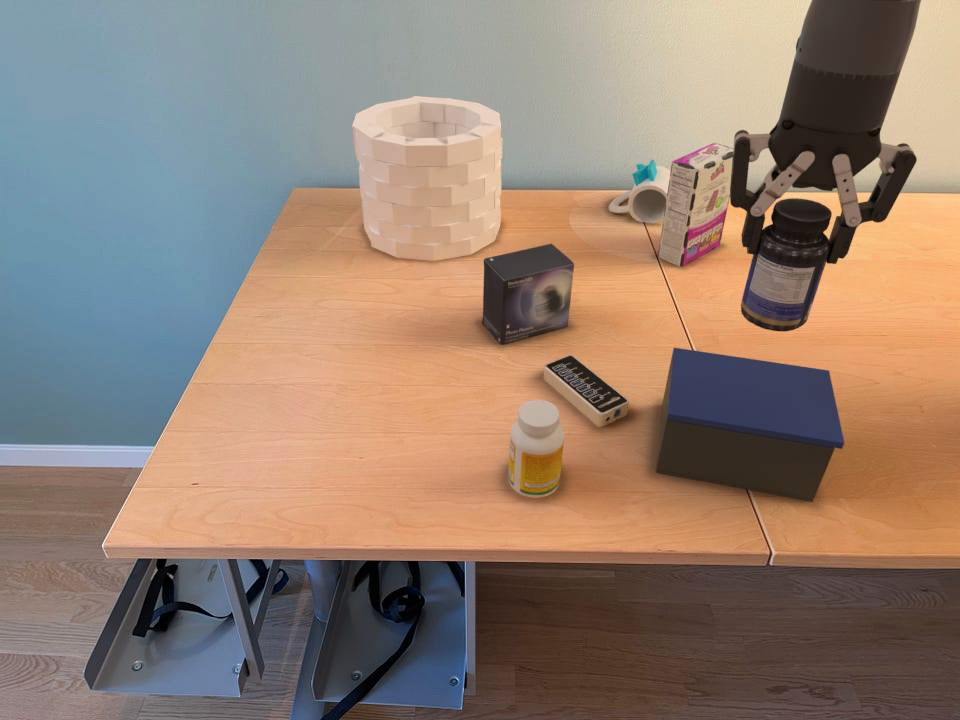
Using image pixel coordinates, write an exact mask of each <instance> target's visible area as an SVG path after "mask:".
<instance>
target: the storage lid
mask: <svg viewBox="0 0 960 720" xmlns="http://www.w3.org/2000/svg"><path fill="white" fill-rule="evenodd" d="M671 358H672V365H671V377H670V389H669V400H668V412H667V420H673V421H679V422H685V423H691V424H697V425H703V426H708V427H714V428H720V429H726V430H732V431H738V432H744V433H750V434H756V435H762V436H768V437H773V438H779V439H785V440H791V441H797V442H803V443H809V444H815V445H821V446H827V447H833V448H835V449H840V450H843V448H844V445H845V439H844V435H843V429H842V425H841V421H840V415H839V411H838V406H837V401H836V397H835V392H834V388H833V387H834V386H833V383H832V378H831V373H830V370H829V369H822V368H815V367H808V366H801V365H794V364H788V363H781V362H775V361H767V360H761V359H755V358H747V357H740V356H734V355H727V354H719V353H713V352H707V351H700V350H692V349H686V348H681V347H680V348H679V347H673V350H672V354H671Z"/></svg>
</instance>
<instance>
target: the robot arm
mask: <svg viewBox="0 0 960 720" xmlns="http://www.w3.org/2000/svg"><path fill="white" fill-rule="evenodd" d="M921 3H922V0H811V2H810V4H809V6H808V9H807V11H806V14H805V17H804V20H803V24H802V26H801V30H800V34H799V37H798V38H797V39H796V40H797V41H796V44H795V54H794V58H793V62H792V67H791V70H790V74H789V79H788V82H787V85H786V90H785V95H784V98H783V102H782V105H781V110H780V115H779V118H778V120H777V122H776V124H775V126H774V127H773V128H772V129H771V130H770V131H769V133H752V134H750V133H749V132H748V130H745V129H740V130H737V132H736V133H735V134H734V136H733V137H734V138H733V147H732V148H733V160H732V172H731V184H730V198H729V202H730V205H731V206H732V207H733V208H736V209H738V208H740V209H742V210H744V211H745V212H746V215H745V219H744V223H743V227H742V231H741V236H740V237H741V244H742V248H746V253H747V255H753V254H756V252H757V248H758V244H759V241H760V237H761V233H762V230H763V229H764V225H765V221H766V212H767V211H768V210H769V208H770V207H772V205H773V204H774V203H776V201H777V200H779V199H780V198H782V197H783V196H784V195H785V193H786V192H787V191H788V190H789V189H790V188H791V187H792V188H795V189H806V188H807V189H808V188H815V189H818V190H820V191H826V192H833V190H834V189H836V193H837V196H838V201H839V206H840V209H841V213H840V215H836V217H835V219H834V222H833V225H832V229H831V232H830V235H829V238H828V239H829V242H830V252H829V255H828V258H827V261H826V264H831V265H837V263H838V260H839V259H845V257H847V255H848V254H849V251H850V247H851V246H852V245H851V244H852V242H853V238H854V236H855V234H856V231H857V228H858V227H859V226H860V225H861V224H864V223H868V222H874V223H878V224H879V223H882V222H885V221H886V219H887V218H888V216H889V214H890V213H891V211H892V209H893V206H894V205H895V203H896V202H897V199H898V197H899V195H900V194H901V192H902V190H903V188H904V186H905V185H906V182H907V181H908V179H909V177H910V175H911V174H912V171H913V169H914V167H915V166H916V163H917V161H918V159H917V156H916V154H915V152H914V150H913V149H912V147H911V146H910V145H909V144H908V143H906V142H905V143H904V142H901V143H899V144H897V145H893V144H889V143H885V142H882V141H881V131H882V128H883V126H884V122H885V119H886V116H887V113H888V110H889V108H890V105H891V101H892V99H893V96H894V93H895V90H896V87H897V84H898V81H899V77H900V76H901V72H902V69H903V66H904V64H905V61H906V59H907V55H908V51H909V48H910V46H911V43H912V40H913V38H914V33H915V31H916V26H917V22H918V17H919V11H920V7H921ZM766 149H768V151H769V152H770V154H771V156H772V158H773V160H774V163H775V164H774V165H773V166H772V167H771V169H770V170H769V171H768V172H767V174H766V175H765V177H764V179H763V181H762V182H761V183H760V185H759V186H758V187H757V188H756V189H755V190H754V191H751V190H749V189H747V188H748V187H747V186H748V177H749V176H748V175H749V165H750V163H753V162H755V161H757V160H758V159H759V157H760V154H761V153H762V151H764V150H766ZM877 158H878V159H879V162H878V167H879V168H880V171H881V174H880V176H879V178H878V179H877V181H876V183H875V186H874V188H873V190H872V191H871V193H870V196H869V198H868V199H867V201H862V202H859V198H858V194H857V190H856V185H855V180H854V177H856V175H858V174H859V173H860V172H862V171H863V170H864V169H865V168H866V167H868V165H870V164H871V163H872V162H874V161H875V160H876V159H877Z"/></svg>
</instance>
